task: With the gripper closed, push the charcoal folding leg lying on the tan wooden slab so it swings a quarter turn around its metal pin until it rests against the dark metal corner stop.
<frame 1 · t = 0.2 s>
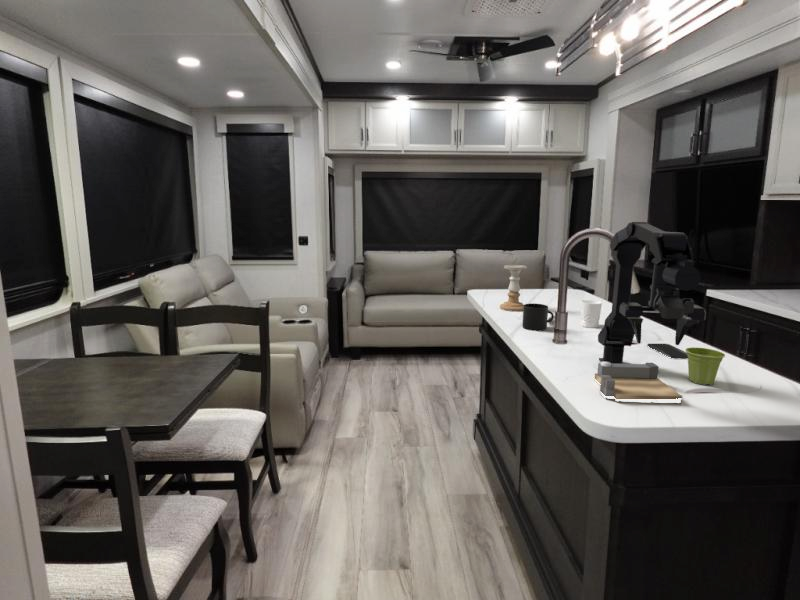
hand: (657, 343, 127), 14 cm above the counter, tool pointing down, fingers open, 9 cm apart
mug: (537, 328, 200), on the counter
candle holder: (513, 309, 237), on the counter
phone: (668, 353, 169), on the counter
plant pot: (701, 382, 141), on the counter
tan wooden slab: (635, 391, 133), on the counter
white cup: (589, 326, 204), on the counter
folding leg: (627, 369, 138), point 4 cm above the counter, hinge at 90.0°
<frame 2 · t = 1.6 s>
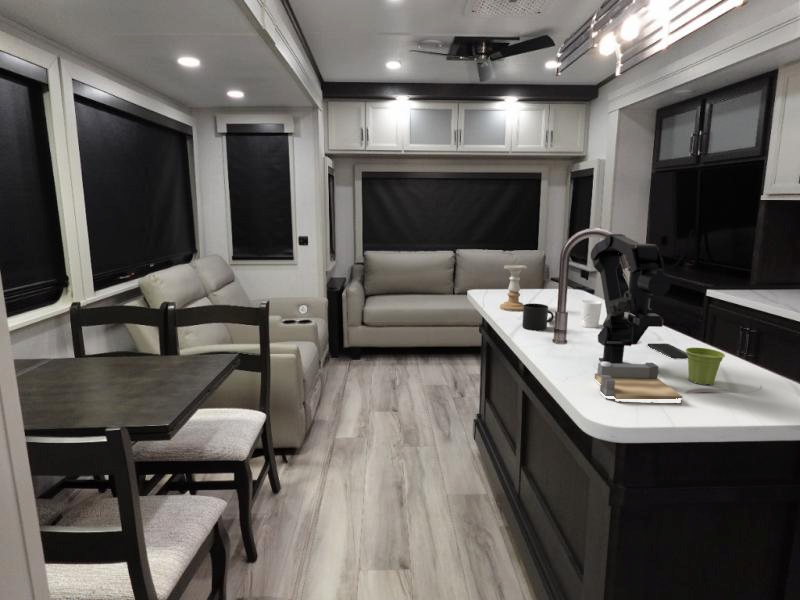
hand: (634, 343, 142), 10 cm above the counter, tool pointing down, fingers closed
nothing on the counter moved.
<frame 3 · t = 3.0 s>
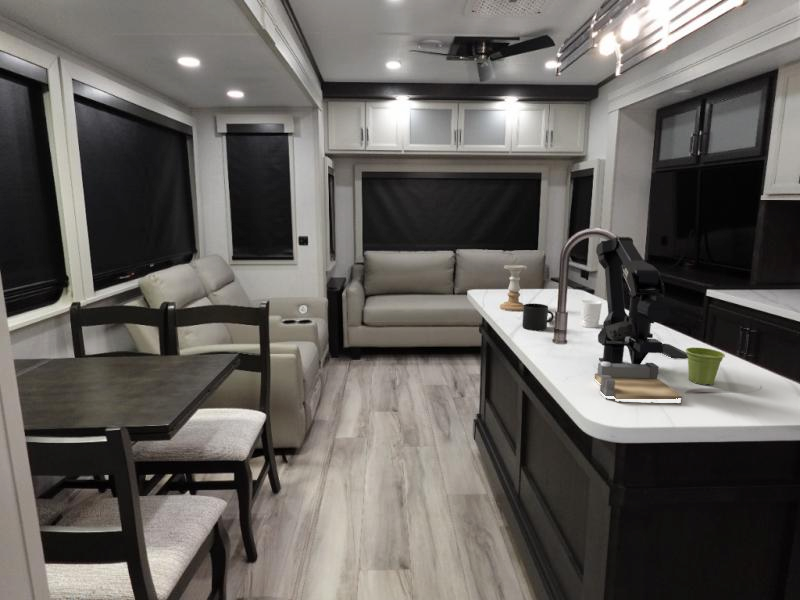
hand: (634, 368, 141), 4 cm above the counter, tool pointing down, fingers closed
folding leg: (627, 369, 138), point 4 cm above the counter, hinge at 89.8°, touching gripper
everything else where it was.
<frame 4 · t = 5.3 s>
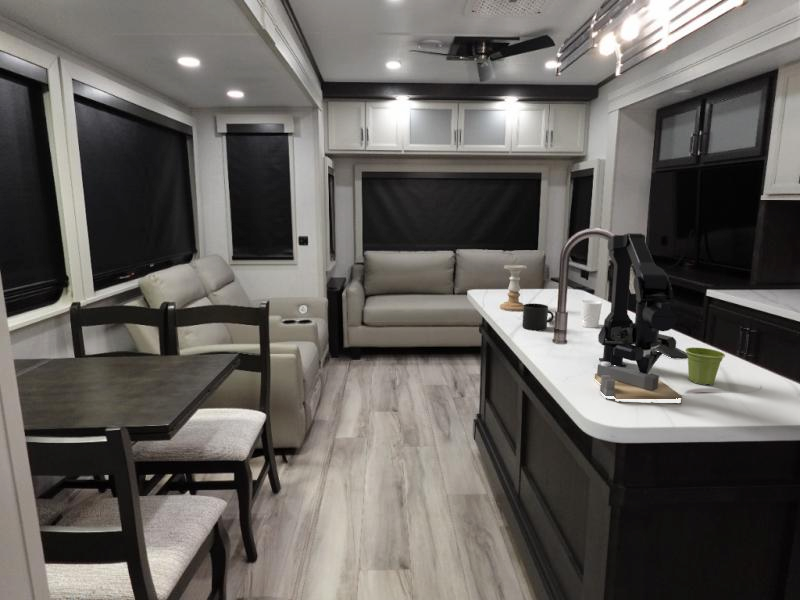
hand: (642, 377, 133), 4 cm above the counter, tool pointing down, fingers closed
folding leg: (626, 374, 134), point 4 cm above the counter, hinge at 41.6°, touching gripper
everything else where it was.
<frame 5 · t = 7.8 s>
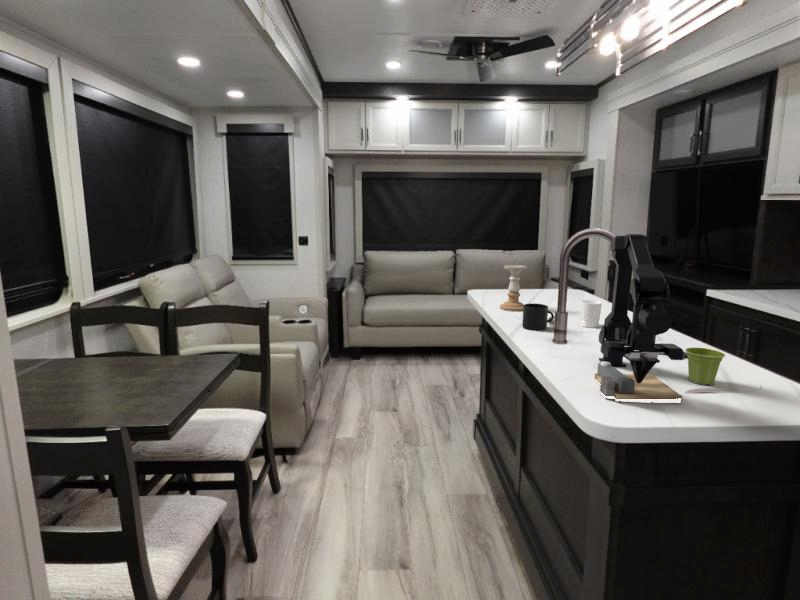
hand: (638, 382, 130), 3 cm above the counter, tool pointing down, fingers closed
folding leg: (614, 376, 132), point 4 cm above the counter, hinge at 2.7°
everything else where it was.
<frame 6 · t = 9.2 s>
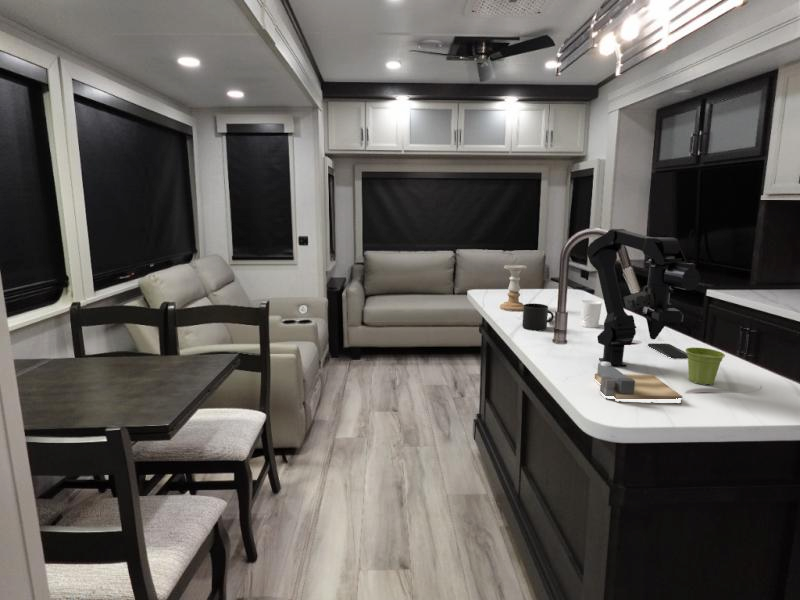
hand: (652, 339, 140), 12 cm above the counter, tool pointing down, fingers closed
nothing on the counter moved.
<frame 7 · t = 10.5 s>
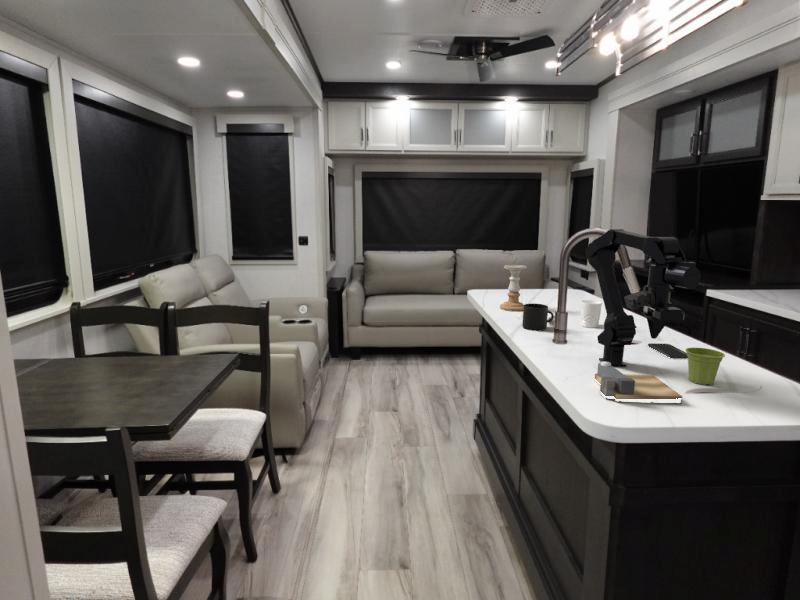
hand: (653, 338, 140), 12 cm above the counter, tool pointing down, fingers closed
nothing on the counter moved.
at the end: folding leg at +3° (first picture: +90°) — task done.
